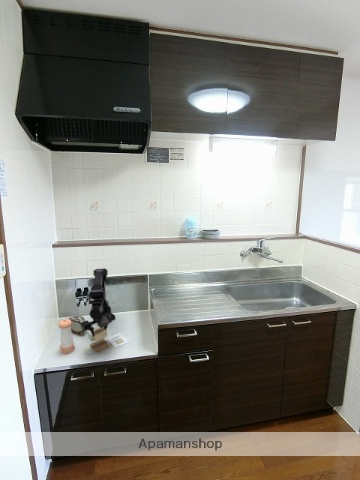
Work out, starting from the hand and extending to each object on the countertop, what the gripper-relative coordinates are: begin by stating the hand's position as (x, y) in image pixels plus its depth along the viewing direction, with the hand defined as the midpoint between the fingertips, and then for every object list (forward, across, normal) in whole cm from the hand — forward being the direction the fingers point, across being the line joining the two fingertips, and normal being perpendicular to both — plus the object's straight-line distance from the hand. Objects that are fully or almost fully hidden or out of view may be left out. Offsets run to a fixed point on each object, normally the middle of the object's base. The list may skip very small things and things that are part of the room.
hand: (99, 334), depth 146 cm
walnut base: (+9, 0, 0) cm, 9 cm away
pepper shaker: (+8, -15, +10) cm, 20 cm away
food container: (+9, -3, +23) cm, 25 cm away
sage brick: (+8, +1, +11) cm, 14 cm away
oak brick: (+1, 0, 0) cm, 1 cm away
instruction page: (+8, +11, -1) cm, 14 cm away
